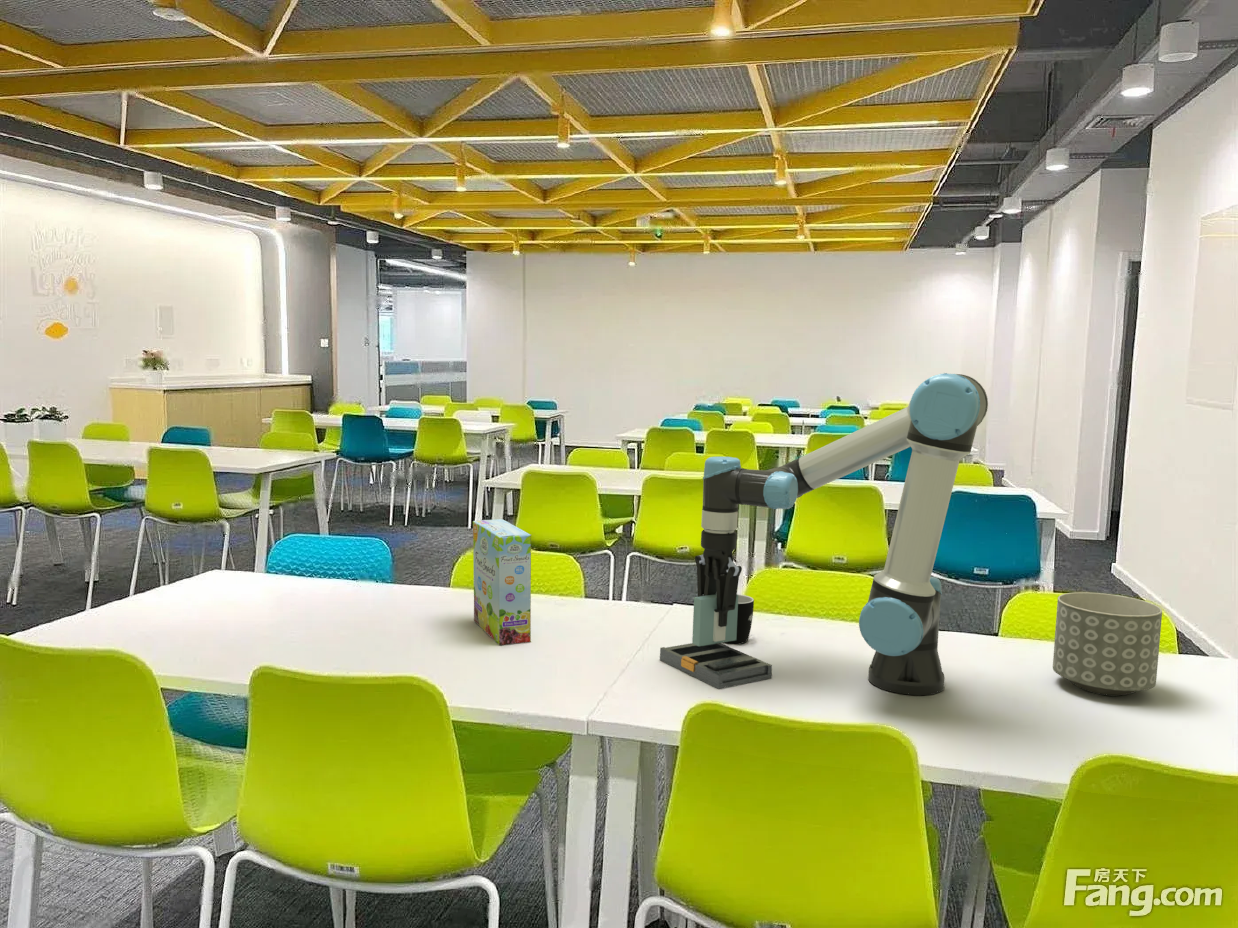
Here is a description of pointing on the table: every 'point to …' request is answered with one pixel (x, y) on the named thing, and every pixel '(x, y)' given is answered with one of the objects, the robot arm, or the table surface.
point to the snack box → (502, 581)
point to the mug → (743, 619)
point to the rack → (716, 664)
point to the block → (711, 621)
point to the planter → (1107, 642)
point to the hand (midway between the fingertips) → (714, 638)
